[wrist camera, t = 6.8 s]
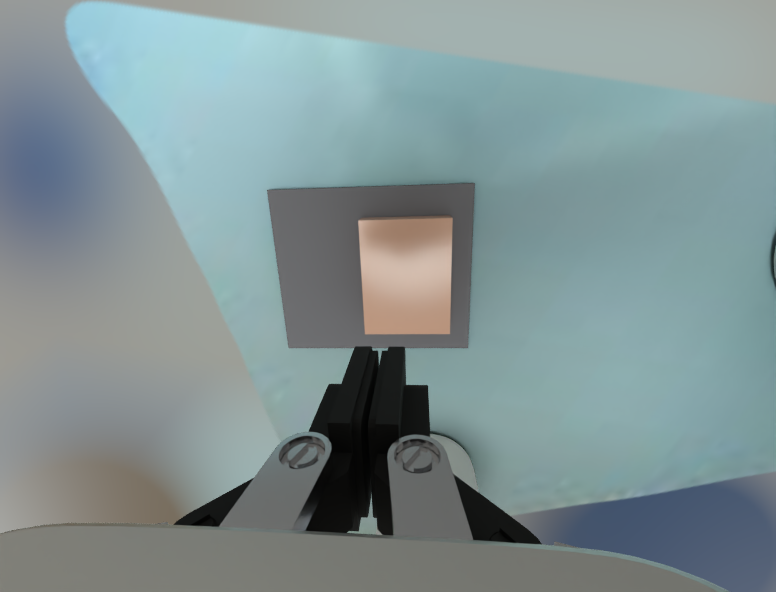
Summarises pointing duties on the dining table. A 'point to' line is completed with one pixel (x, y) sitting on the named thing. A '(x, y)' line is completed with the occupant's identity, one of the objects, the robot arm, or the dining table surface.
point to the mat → (359, 260)
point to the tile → (406, 274)
